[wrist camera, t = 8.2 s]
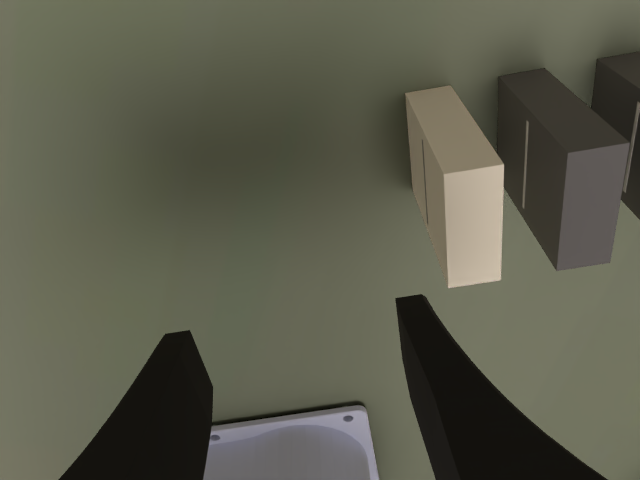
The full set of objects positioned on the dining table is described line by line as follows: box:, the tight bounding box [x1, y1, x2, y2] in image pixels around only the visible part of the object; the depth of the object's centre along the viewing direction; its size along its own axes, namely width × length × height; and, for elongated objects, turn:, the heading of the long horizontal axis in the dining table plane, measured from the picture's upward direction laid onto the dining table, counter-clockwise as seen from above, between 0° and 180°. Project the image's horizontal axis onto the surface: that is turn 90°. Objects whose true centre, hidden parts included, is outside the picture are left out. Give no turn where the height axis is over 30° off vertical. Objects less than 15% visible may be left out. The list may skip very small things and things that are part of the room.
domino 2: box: [497, 68, 630, 271], centre depth 18 cm, size 2×4×6 cm, turn 9°
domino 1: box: [405, 85, 504, 288], centre depth 19 cm, size 2×4×6 cm, turn 9°
